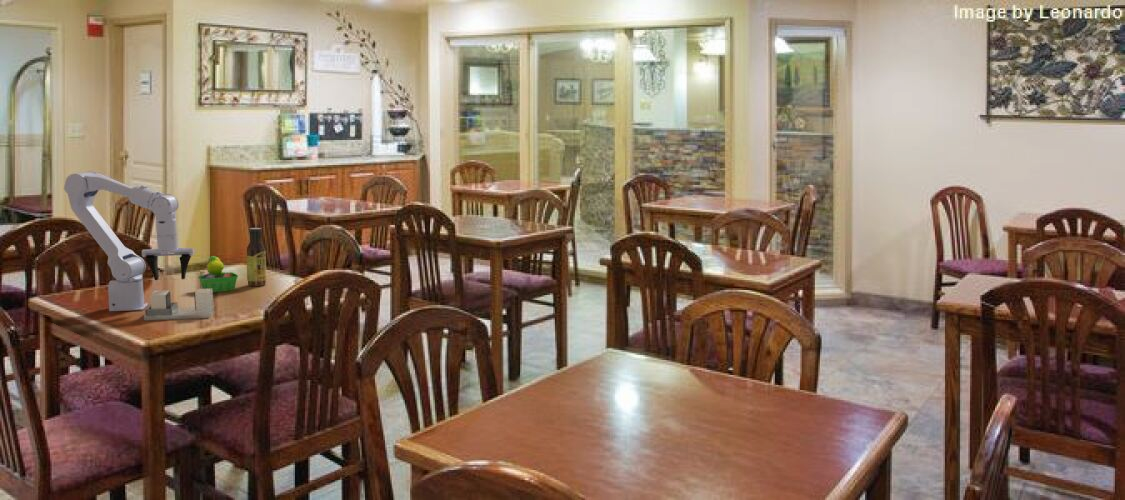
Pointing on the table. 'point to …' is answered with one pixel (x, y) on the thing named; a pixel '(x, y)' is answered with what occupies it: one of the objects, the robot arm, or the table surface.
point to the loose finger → (161, 299)
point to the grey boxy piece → (200, 310)
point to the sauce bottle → (256, 259)
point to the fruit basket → (217, 277)
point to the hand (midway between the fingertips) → (170, 279)
